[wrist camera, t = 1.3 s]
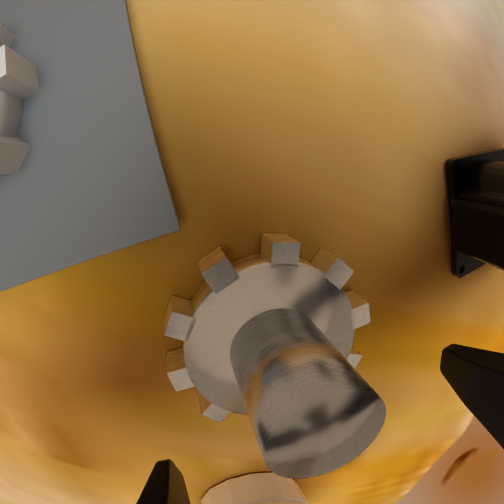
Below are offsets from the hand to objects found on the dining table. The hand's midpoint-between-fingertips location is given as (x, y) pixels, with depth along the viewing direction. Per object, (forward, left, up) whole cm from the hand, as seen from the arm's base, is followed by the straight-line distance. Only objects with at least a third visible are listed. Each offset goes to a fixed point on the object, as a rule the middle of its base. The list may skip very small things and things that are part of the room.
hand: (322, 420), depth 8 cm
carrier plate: (+9, -17, -6) cm, 20 cm away
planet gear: (0, 0, -6) cm, 6 cm away
